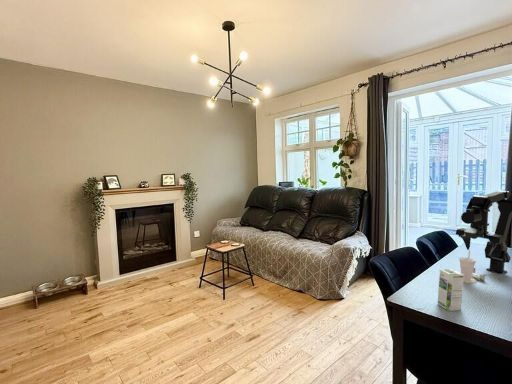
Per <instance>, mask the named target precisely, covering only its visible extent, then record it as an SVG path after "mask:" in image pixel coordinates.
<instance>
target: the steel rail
mask: <svg viewBox="0 0 512 384" xmlns="http://www.w3.org/2000/svg"><path fill="white" fill-rule="evenodd" d="M471 278H474V279H475V280H476V281H477V280H478V281H479V282H484V283H485V280H486V275H485V274H483V273H480V274H478V273H476V267H474V269H473V273H472V277H471Z"/></svg>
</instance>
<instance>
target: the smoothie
mask: <svg viewBox="0 0 512 384" xmlns="http://www.w3.org/2000/svg"><path fill="white" fill-rule="evenodd" d="M467 254H468V255H467V256H468V257H459V259H458V261H459V266H460V273H461V274H464V280H471V277H472V273H473V269H474V268H475V264H476V262H477V260H475V259H473V258H470V257H471V256H470V255H471V250H468V252H467Z"/></svg>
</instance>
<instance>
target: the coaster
mask: <svg viewBox="0 0 512 384" xmlns="http://www.w3.org/2000/svg"><path fill="white" fill-rule="evenodd" d="M477 282H478V281H477V279H474V278H471V280H464V279H463V283H466V284H476V283H477Z"/></svg>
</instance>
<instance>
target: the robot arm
mask: <svg viewBox="0 0 512 384" xmlns="http://www.w3.org/2000/svg"><path fill="white" fill-rule="evenodd" d="M494 203H496V204H497V209H498V212H499V216H498V219H497V223H496V227H495V231H494V233H493V234H491V235H490V234H489V233H490V232H489V231H488V227H489V226H490V223H489V221H488V220H489V212H491V210H490V209H491V207H493V206H494V205H493V204H494ZM460 219H461V221H462V223H464V224H467V225H469V227H467V228H463V227H461V228H456V230H455V235H457V236H458V237H459V238H461V239H462V240H463V243H464V245H465V248H466V250H467V251H470V247H471V241H472V240H471V239H473V240H475V239H478V238H482V239H486V240H488V241H487V242H486V246H485V247H484V257H485V258H486V259H489V267H487V268H485V270H486V271H489V272H492V273H496V274H498V275H499V274H500V275H502V274H505V273H508V270H505V263H510V262H511V256H510V253H509V252H508V246H507V244H506V240H507V237H508V234H509V230H510V229H509V228H510V226H511V223H512V193H511V191H509V190H501V189H498V190H496V191H494V192H491V193H488V194H483V195H482V194H480V195H479V194H476V195H475V194H474V195H472V197H470V199H469V201H468V204H467V206H466V208H465V212H463V213H462V214H461V215H460Z"/></svg>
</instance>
